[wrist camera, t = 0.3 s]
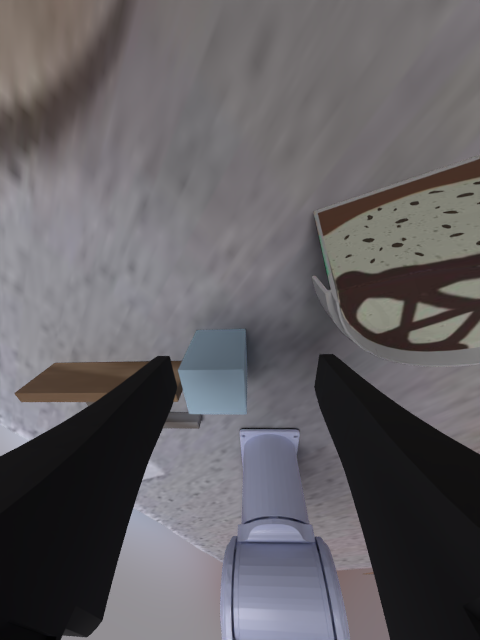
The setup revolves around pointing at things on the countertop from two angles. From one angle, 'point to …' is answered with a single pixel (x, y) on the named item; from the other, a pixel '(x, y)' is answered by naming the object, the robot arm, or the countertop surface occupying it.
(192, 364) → the cabinet block
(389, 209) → the food container
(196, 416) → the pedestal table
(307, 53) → the countertop surface
